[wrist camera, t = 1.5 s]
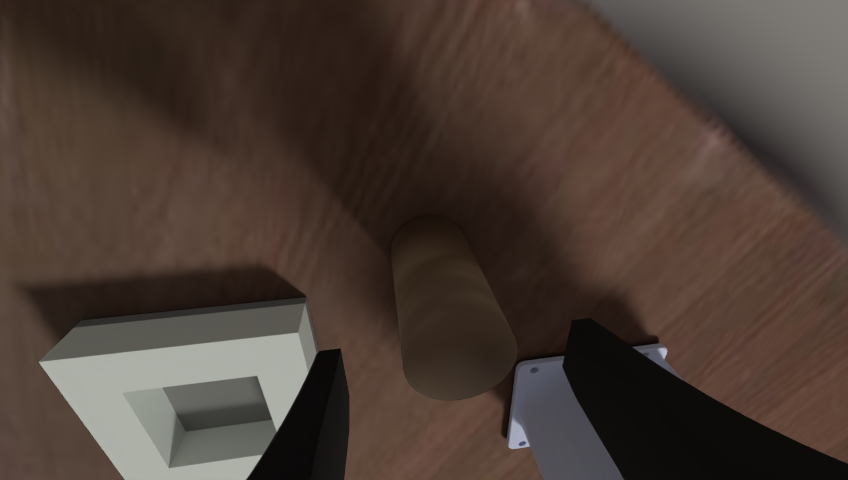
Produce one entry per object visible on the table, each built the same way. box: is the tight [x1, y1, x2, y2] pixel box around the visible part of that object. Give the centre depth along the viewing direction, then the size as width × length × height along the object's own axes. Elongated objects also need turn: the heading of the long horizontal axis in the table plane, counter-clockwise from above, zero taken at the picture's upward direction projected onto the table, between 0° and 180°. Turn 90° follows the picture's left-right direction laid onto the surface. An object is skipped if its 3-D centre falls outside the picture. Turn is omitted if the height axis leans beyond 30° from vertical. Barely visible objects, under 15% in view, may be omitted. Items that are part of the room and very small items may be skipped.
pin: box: [390, 215, 518, 400], centre depth 14 cm, size 4×4×7 cm
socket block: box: [39, 297, 319, 480], centre depth 19 cm, size 10×10×2 cm
